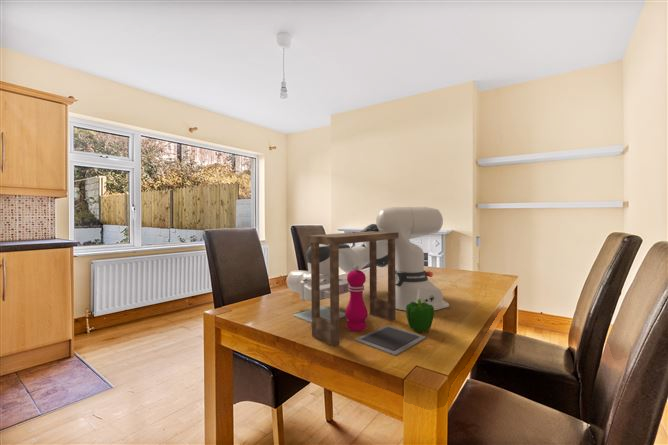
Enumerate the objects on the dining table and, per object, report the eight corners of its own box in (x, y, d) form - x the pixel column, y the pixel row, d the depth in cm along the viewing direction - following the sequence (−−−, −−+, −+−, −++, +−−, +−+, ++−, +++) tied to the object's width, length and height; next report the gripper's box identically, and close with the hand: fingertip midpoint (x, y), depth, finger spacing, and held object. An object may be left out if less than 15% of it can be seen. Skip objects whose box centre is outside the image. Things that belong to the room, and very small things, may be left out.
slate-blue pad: (293, 315, 110) (293, 314, 110) (322, 307, 119) (322, 306, 119) (319, 325, 100) (319, 324, 100) (348, 315, 109) (348, 314, 109)
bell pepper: (413, 322, 101) (412, 293, 101) (437, 328, 96) (437, 297, 96) (401, 330, 95) (401, 298, 95) (426, 337, 90) (426, 303, 89)
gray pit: (354, 340, 88) (354, 338, 88) (386, 325, 99) (386, 324, 99) (395, 355, 78) (395, 354, 78) (426, 337, 89) (426, 336, 89)
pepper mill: (366, 332, 93) (366, 267, 93) (343, 331, 95) (343, 266, 94) (368, 324, 100) (368, 263, 100) (347, 323, 102) (346, 263, 101)
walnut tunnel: (308, 335, 91) (307, 235, 90) (371, 312, 112) (370, 231, 112) (336, 347, 83) (336, 237, 82) (398, 320, 104) (398, 232, 103)
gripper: (339, 289, 117) (367, 296, 107) (296, 300, 102) (324, 309, 93) (338, 273, 117) (367, 278, 107) (296, 282, 102) (324, 289, 92)
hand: (347, 293), depth 100 cm, fingers open, 8 cm apart
